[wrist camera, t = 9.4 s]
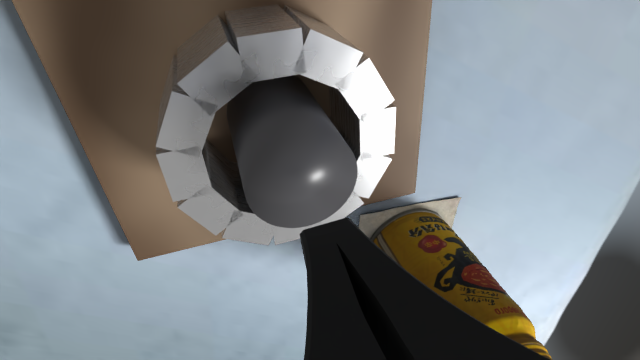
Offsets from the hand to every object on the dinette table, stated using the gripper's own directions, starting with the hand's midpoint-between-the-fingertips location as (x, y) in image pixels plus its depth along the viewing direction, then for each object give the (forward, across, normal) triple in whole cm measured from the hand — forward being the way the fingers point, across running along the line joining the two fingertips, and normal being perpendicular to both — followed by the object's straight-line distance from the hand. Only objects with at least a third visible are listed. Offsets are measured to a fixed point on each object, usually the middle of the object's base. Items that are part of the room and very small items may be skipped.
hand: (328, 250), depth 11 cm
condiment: (+11, -7, +13) cm, 19 cm away
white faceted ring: (+10, 0, 0) cm, 10 cm away
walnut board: (+10, 0, 0) cm, 10 cm away
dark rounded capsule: (+9, 0, 0) cm, 9 cm away
